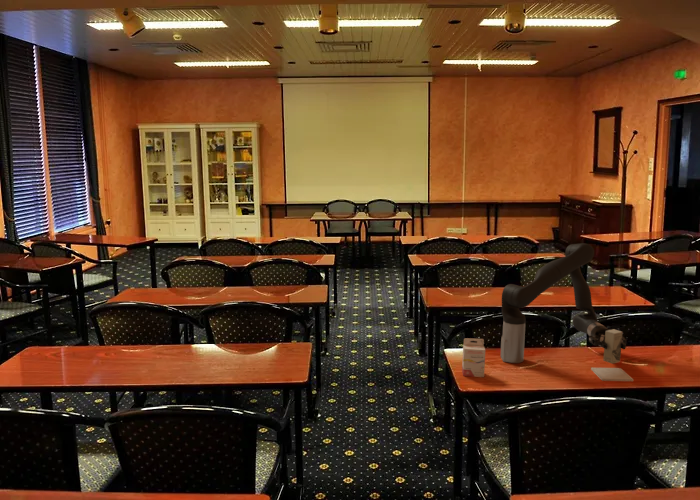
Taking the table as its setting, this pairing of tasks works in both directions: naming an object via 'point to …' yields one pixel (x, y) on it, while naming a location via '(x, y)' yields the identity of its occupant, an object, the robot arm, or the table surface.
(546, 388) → the table surface
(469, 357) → the ink cartridge box
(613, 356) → the box
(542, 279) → the robot arm
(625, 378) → the board
